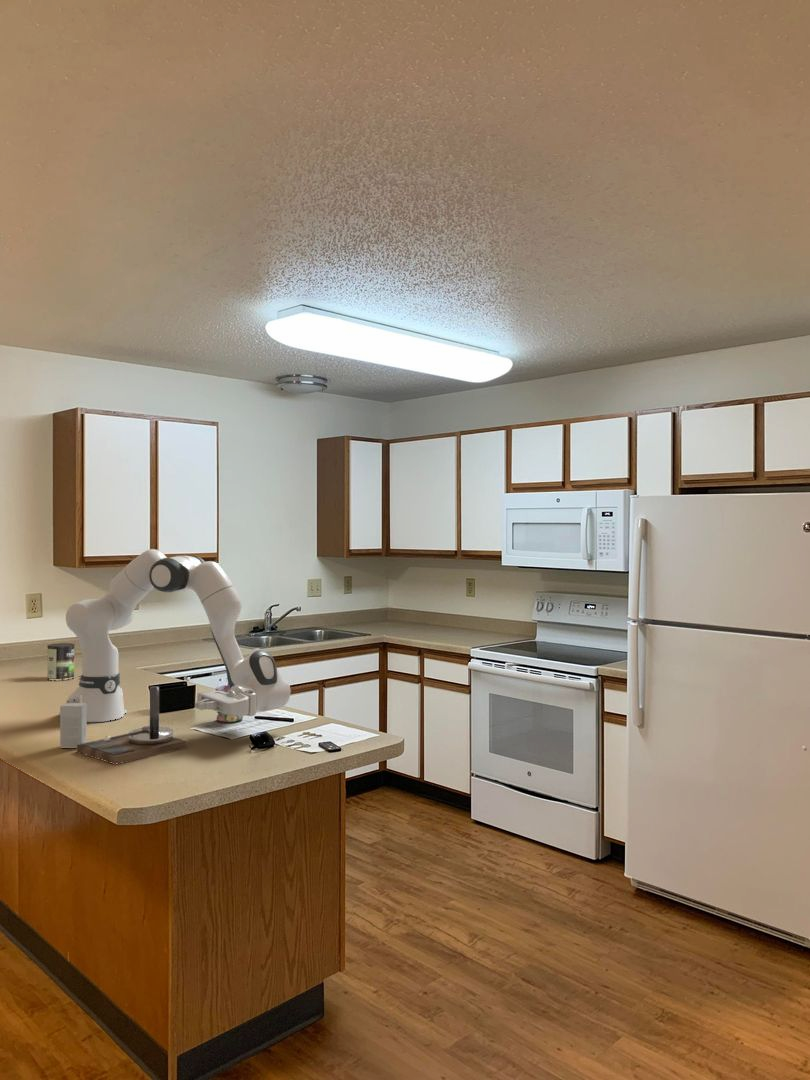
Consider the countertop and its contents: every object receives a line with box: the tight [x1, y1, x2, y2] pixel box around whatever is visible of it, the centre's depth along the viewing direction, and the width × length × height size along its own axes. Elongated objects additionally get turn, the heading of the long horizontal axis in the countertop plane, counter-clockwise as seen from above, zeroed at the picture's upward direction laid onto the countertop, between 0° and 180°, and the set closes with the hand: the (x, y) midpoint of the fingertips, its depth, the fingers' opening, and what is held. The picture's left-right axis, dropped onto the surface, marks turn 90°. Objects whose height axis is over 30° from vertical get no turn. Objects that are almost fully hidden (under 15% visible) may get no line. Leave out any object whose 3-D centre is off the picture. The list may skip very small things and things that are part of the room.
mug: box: [214, 684, 244, 723], centre depth 259 cm, size 12×9×11 cm
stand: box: [76, 736, 187, 765], centre depth 224 cm, size 19×22×2 cm
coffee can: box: [47, 642, 76, 679], centre depth 330 cm, size 10×10×14 cm
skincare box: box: [59, 702, 88, 749], centre depth 226 cm, size 6×4×12 cm
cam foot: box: [103, 685, 174, 744], centre depth 223 cm, size 14×20×16 cm
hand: (197, 706), depth 228 cm, fingers closed
